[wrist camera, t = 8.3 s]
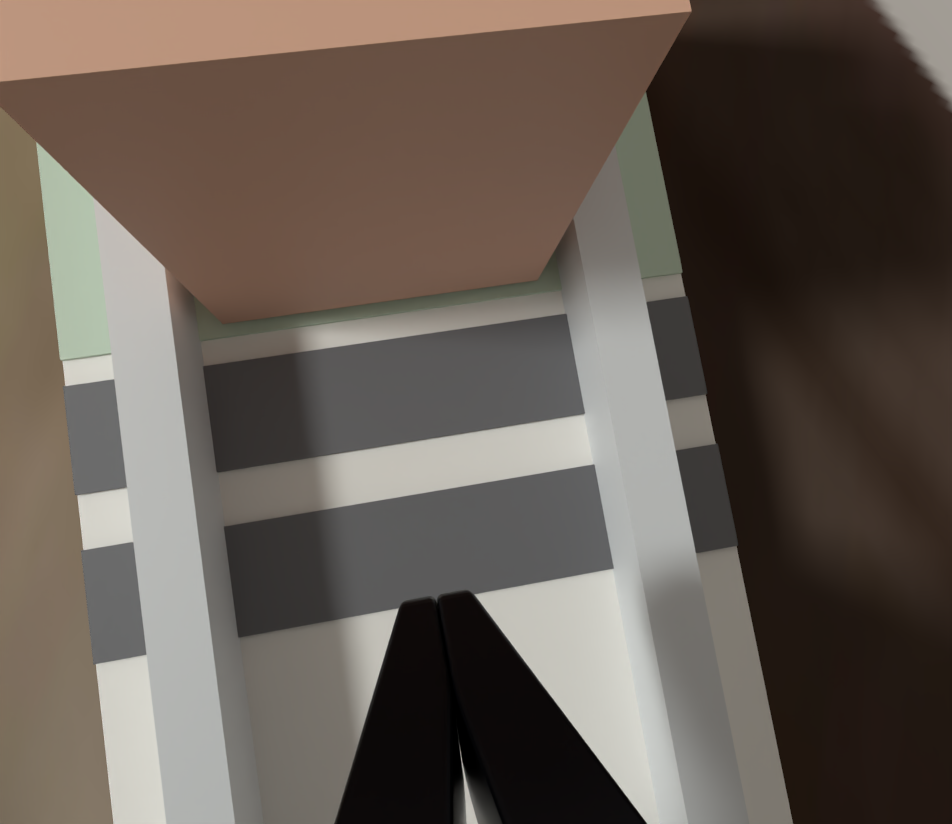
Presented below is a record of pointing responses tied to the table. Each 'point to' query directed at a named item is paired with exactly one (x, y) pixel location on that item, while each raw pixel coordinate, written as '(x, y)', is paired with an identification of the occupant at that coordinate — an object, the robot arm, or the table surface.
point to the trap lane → (405, 514)
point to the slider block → (334, 133)
